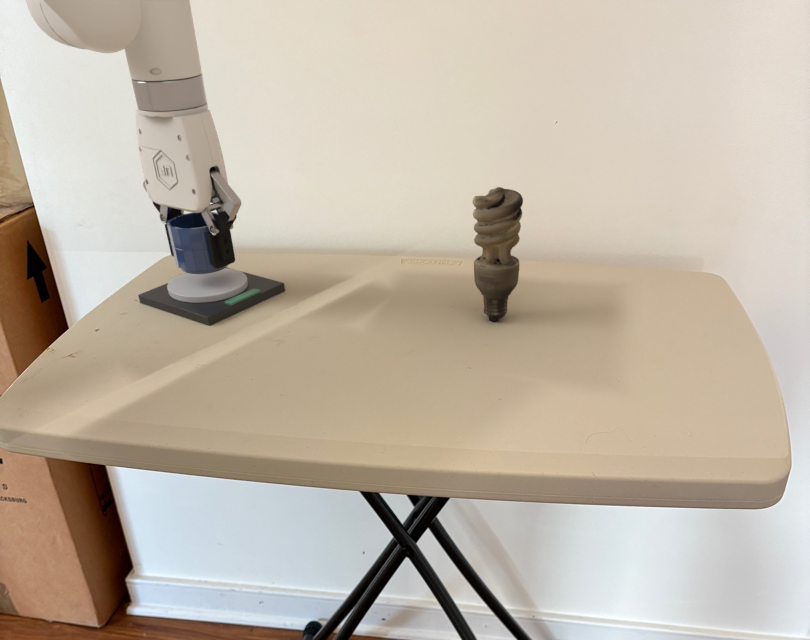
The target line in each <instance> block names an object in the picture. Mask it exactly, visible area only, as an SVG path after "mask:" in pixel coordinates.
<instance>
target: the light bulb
mask: <svg viewBox="0 0 810 640" xmlns="http://www.w3.org/2000/svg"><path fill="white" fill-rule="evenodd" d="M523 204H524V197H523V196H522V194H521V193H520V192H518V191H516V190H514V189H509V188H504V187H502V186H498V187H495V188H491V189H489V190H488V193H487V194H486V195H475V196H473V198H472V205H473V206H474V208H475V209H474V210H473V211H472V212H473V213H472V215H473V219H474V220H476V221H477V222H475V224H473V230H474V232H475V233H477V234H476V235H475V236H474V239H473V242H474V244H475V245H476V246H478V247H480V248H482V254H481V255H480V256H478V257H476V258H475V259H474V261H473V278H474V279H473V280H474V283H475V286H476V288H477V289H478V290H479V293H480V294H481V295H482V297H483V314H485V315H486V316H487V317H488V321H490V322H499V321H500V319H502V318H504V317H505V316H506V314H508V301H509V296H510V295H511V294H512V293H513V291H514V290H515V289H516V287H517V285H518V283H519V277H520V275H519V274H520V260H519V258H518V257H516V256H514V255H512V253H511V252H512V249H513V248H514V247H516V246H517V245H518V243H519V242H520V240H521V239H520V236H519V235H520V231H521V228H522V227H521V226H522V224H521V222H520V221H521V219H522V217H523V210H522V206H523Z"/></svg>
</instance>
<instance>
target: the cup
mask: <svg viewBox="0 0 810 640" xmlns="http://www.w3.org/2000/svg"><path fill="white" fill-rule="evenodd" d="M211 213H212V215H213V217H214V219H215V220H216V218H217V217H218V213H217V212H215V211H211ZM167 227H168V231H169V236H170V240H171V245H172V249H173V254H174V257H173V258H174V262H175V266H177V268H178V269H181V271H182V272H183V273H190V274H208V273H213V272H217V271H220V270H222V269H224V268H226V267H227V268H228V266H229V265H226V266H224V267H221V268H219V269H217V268H214V267H213V265H212V260H211V255H210V250H209V244H208V239H207V235H208V234H211V233H210V231H209V229H208V227H207V225H206V222H205V220H204V218H203V216H202V214H201V212H199V213H194V212H188V213H184V214H182V215H179V216H176V217H173V218H172V219H170V220H168V222H167Z"/></svg>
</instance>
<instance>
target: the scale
mask: <svg viewBox="0 0 810 640" xmlns="http://www.w3.org/2000/svg"><path fill="white" fill-rule="evenodd" d="M284 292H286V286H285V282H283V281H279V280H275V279H272V278H268V277H264V276H260V275H256V274H253V273H249V272H246V271H242V270H239V269H235V268H231V267H228V266H227V267H226V268H224V269H222V270H220V271H217V272H213V273H208V274H190V273H186V272H183V273H181V274H178V275H177V276H175V277H173V278H171V280H169V281H168V282H167V283H165V284H161V285H159V286H157V287H154V288H152V289H149V290H147V291H145V292H142V293H140V294H138V295H137V296H138V300H139V304H142V305H144V306H148V307H150V308H154V309H157V310H160V311H163V312H165V313H169V314H172V315H175V316H178V317H181V318H184V319H186V320H189V321H193V322H195V323H199V324H202V325H205V326H207V327H208V326H209V327H211V326H213V325H215V324H217V323H219V322H222V321H224V320H226V319H229V318H231V317H233V316H235V315H237V314H239V313H242V312H243V311H245V310H248V309H250V308H252V307H254V306H256V305H258V304H261V303H263V302H265V301H267V300H269V299H271V298H274V297H276V296H279V295H280V294H283V293H284Z"/></svg>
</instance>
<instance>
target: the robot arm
mask: <svg viewBox="0 0 810 640" xmlns="http://www.w3.org/2000/svg"><path fill="white" fill-rule="evenodd" d="M25 2H26V6H27V9H28V12H29V13H30V16H31V17H32V19H33V21H34V22H35V24H36V25H37V26H38V27H39V28H40V30H42V32H43V33H45V34H46V35H47V36H48V37H49V38H51V39H52V40H54V41H55V42H58V43H60V44H62V45H65V46H68V47H72V48H76V49H81V50H86V51H87V50H88V51H91V52H96V53H101V54H114V53H119V52H121V51H123V50H124V53H125V57H126V62H127V66H128V71H129V75H130V79H131V83H132V89H133V92H134V97H135V98H134V99H135V101H136V106H137V109H136V110H135V125H136V126H135V127H136V136H137V137H136V138H137V146H138V152H139V158H140V159H139V160H140V164H141V170H142V174H143V179H144V180H143V183H142V186H143V189H144V190H145V192H146V193H147V195H148V198H149V199H150V200H151V201H152V204H153V206H154V208H155V209H156V210H157V212H158V213H159V220H160V221H161V223H163V224H164V229H165V234H166V237H167V241H168V247H169V251H170V256H172V257H173V258H174V254H173V249H172V245H171V240H170V236H169V231H168V227H167V222H168V220H170V219H172V218H173V217H176V216H179V215H182V214H185V213H184V212H188V213H193V212H194V213H199V212H201V214H202V216H203V218H204V220H205V222H206V225H207V227H208V229H209V231H210V233H211V234H208V235H207V239H208V244H209V250H210V255H211V260H212V265H213V267H214V268H217V269H219V268H221V267H224V266H226V265H228V266H229V265H231V264H233V263H236V256H235V251H234V244H233V239H232V232H231V230H233V229H234V223H235V221H236V219H237V217H238V215H237V214H238V213H239V210H240V209H241V206H242V200H241V199H240V197H239V196H238V195H237V193H236V192H235V191H234V189H233V188H232V187H231V185H229V180H228V174H227V168H226V164H225V159H224V155H223V151H222V147H221V142H220V139H219V135H218V132H217V128H216V125H215V121H214V118H213V116H212V113H211V109H209V106H208V105H209V104H208V99H207V93H206V88H205V82H204V77H203V71H202V67H201V66H202V65H201V60H200V54H199V48H198V47H199V46H198V41H197V36H196V30H195V24H194V19H193V13H192V12H193V11H192V8H191V0H25ZM215 211H216V213H218V217H217V218H216V220H215V219H214V217H213V215H212V213H211V212H215Z"/></svg>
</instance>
